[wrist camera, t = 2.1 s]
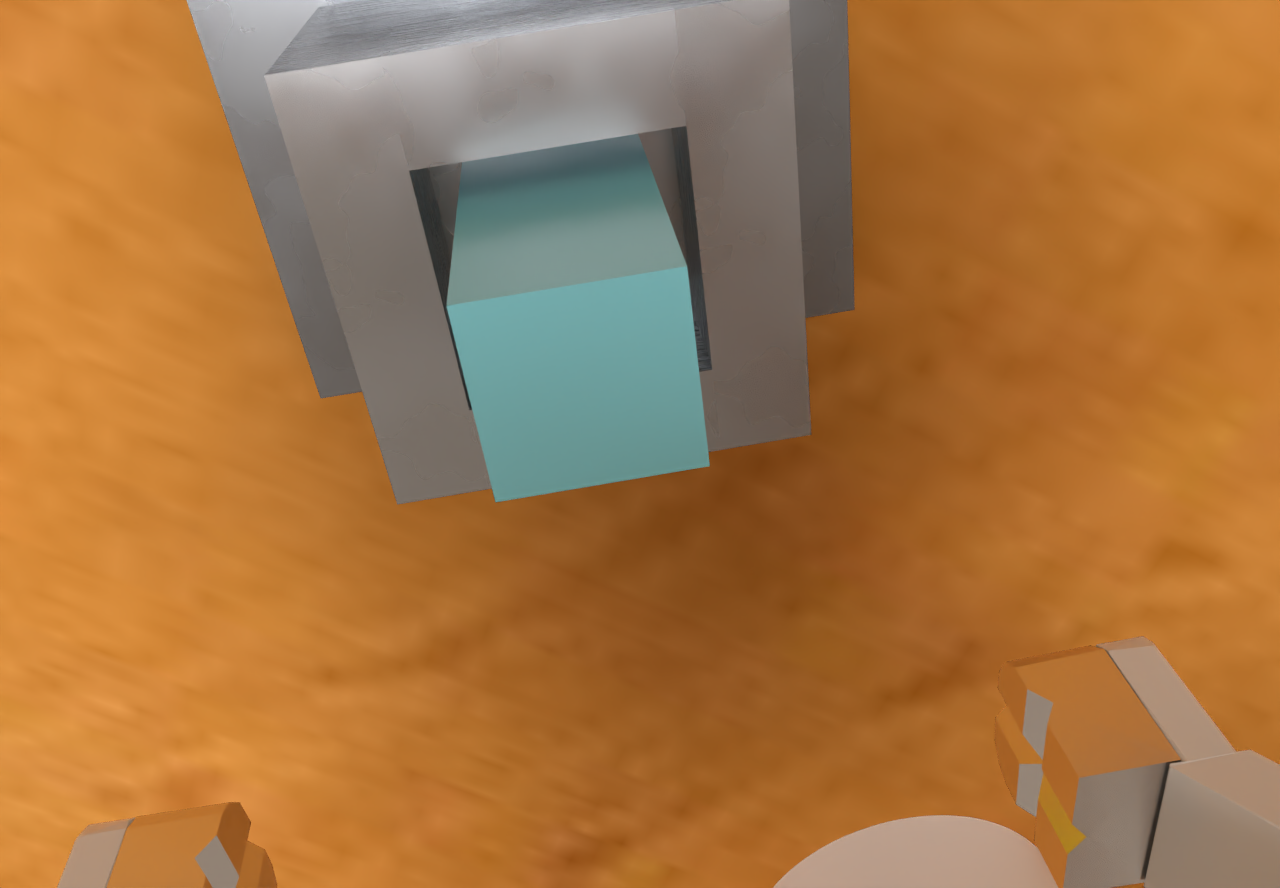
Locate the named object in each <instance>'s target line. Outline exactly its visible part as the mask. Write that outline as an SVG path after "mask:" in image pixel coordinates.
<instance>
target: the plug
mask: <svg viewBox="0 0 1280 888" xmlns="http://www.w3.org/2000/svg"><path fill="white" fill-rule="evenodd" d="M446 306H447V310H448V314H449V318H450V322H451V326H452V330H453V334H454V338H455V342H456V346H457V350H458V354H459V358H460V362H461V366H462V370H463V374H464V378H465V382H466V386H467V390H468V394H469V398H470V402H471V406H472V410H473V414H474V418H475V422H476V426H477V430H478V434H479V438H480V442H481V446H482V450H483V454H484V458H485V462H486V466H487V470H488V474H489V478H490V482H491V486H492V490H493V494H494V498H495V502H500V501H506V500H512V499H518V498H524V497H530V496H536V495H542V494H548V493H554V492H560V491H566V490H572V489H578V488H583V487H589V486H595V485H601V484H607V483H613V482H619V481H625V480H631V479H637V478H643V477H649V476H655V475H661V474H666V473H672V472H678V471H684V470H690V469H696V468H702V467H708V466H710V463H709V454H708V445H707V437H706V428H705V419H704V410H703V402H702V393H701V384H700V375H699V367H698V358H697V349H696V340H695V331H694V323H693V314H692V305H691V296H690V288H689V279H688V270H687V265H686V262H685V259H684V257H683V254H682V251H681V248H680V246H679V243H678V240H677V238H676V235H675V232H674V230H673V227H672V224H671V221H670V219H669V216H668V213H667V211H666V208H665V205H664V202H663V200H662V197H661V194H660V192H659V189H658V186H657V184H656V181H655V178H654V175H653V173H652V170H651V167H650V165H649V162H648V159H647V157H646V154H645V151H644V148H643V146H642V143H641V140H640V138H639V135H638V134H633V135H627V136H621V137H615V138H608V139H602V140H596V141H590V142H584V143H577V144H571V145H565V146H559V147H553V148H547V149H540V150H534V151H528V152H522V153H516V154H510V155H503V156H497V157H491V158H485V159H479V160H473V161H466V162H462V167H461V176H460V186H459V195H458V204H457V213H456V222H455V231H454V241H453V250H452V259H451V268H450V277H449V287H448V296H447V305H446Z"/></svg>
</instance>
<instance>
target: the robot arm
mask: <svg viewBox="0 0 1280 888" xmlns="http://www.w3.org/2000/svg"><path fill="white" fill-rule="evenodd" d="M998 690H999V691H1000V693H1001V695H1002V697H1003V699H1004V701H1005V703H1006V706H1005V707H1004V708H1003V709H1002V710H1001V711H1000V713H999V714H998V715H997V716H996V717H995V744H996V750H997V755H998V761H999V765H1000V768H1001V771H1002V774H1003V777H1004V779H1005V782H1006V785H1007V787H1008V789H1009V791H1010V793H1011V795H1012V797H1013V799H1014V801H1015V803H1016V805H1018V806H1019V807H1021V808H1023V809H1024V810H1026V811H1027V812H1029V813H1030V814H1032V815H1033V816H1035V817H1036V824H1035V834H1034V841H1035V843H1036V845H1037V847H1038V848H1037V847H1036V846H1035V845H1034V844H1032V843H1031V842H1030V841H1029V840H1027V839H1026V838H1025V837H1023V836H1021V835H1020V834H1018V833H1016V832H1015V831H1013V830H1011V829H1009V828H1006V827H1004V826H1001V825H999V824H996V823H993V822H989V821H986V820H982V819H977V818H971V817H964V816H950V815H934V816H920V817H912V818H905V819H899V820H894V821H889V822H885V823H881V824H878V825H874V826H871V827H868V828H865V829H862V830H859V831H856V832H854V833H851V834H849V835H846V836H844V837H842V838H840V839H838V840H836V841H833V842H832V843H830V844H828V845H826V846H824V847H822V848H821V849H819V850H817V851H816V852H814V853H813V854H811V855H810V856H808V857H807V858H805V859H804V860H802V861H801V862H800V863H798V864H797V865H796V866H795V867H793V868H792V869H791V870H790V871H789V872H788V873H786V874H785V875H784V876H783V877H782V878H781V879H780V880H779V881H778V882H777V883H776V884H775V886H774V887H773V888H1111V887H1118V886H1124V885H1130V884H1137V883H1143V882H1145V883H1144V887H1145V888H1280V765H1279V764H1277V763H1275V762H1274V761H1272V760H1270V759H1268V758H1266V757H1264V756H1262V755H1260V754H1258V753H1256V752H1254V751H1252V750H1245V751H1238V752H1236V750H1235V749H1234V748H1233V746H1232V745H1231V744H1230V743H1229V741H1228V740H1227V739H1226V737H1225V736H1224V735H1223V733H1222V732H1221V731H1220V729H1219V728H1218V727H1217V726H1216V724H1215V723H1214V722H1213V720H1212V719H1211V718H1210V716H1209V715H1208V714H1207V712H1206V711H1205V710H1204V709H1203V707H1202V706H1201V705H1200V703H1199V702H1198V701H1197V699H1196V698H1195V697H1194V695H1193V694H1192V693H1191V692H1190V690H1189V689H1188V688H1187V686H1186V685H1185V684H1184V682H1183V681H1182V680H1181V678H1180V677H1179V676H1178V674H1177V673H1176V672H1175V671H1174V669H1173V668H1172V667H1171V665H1170V664H1169V663H1168V661H1167V660H1166V659H1165V657H1164V656H1163V655H1162V654H1161V652H1160V651H1159V650H1158V648H1157V647H1156V646H1155V644H1154V643H1153V642H1152V641H1150V640H1148V639H1147V638H1145V637H1143V636H1141V637H1136V638H1130V639H1125V640H1120V641H1114V642H1109V643H1103V644H1098V645H1096V646H1091V645H1090V646H1085V647H1079V648H1074V649H1069V650H1064V651H1059V652H1053V653H1048V654H1043V655H1038V656H1032V657H1027V658H1022V659H1017V660H1012V661H1006V662H1004V663H1003V665H1002V667H1001V669H1000V670H999V679H998ZM250 825H251V821H250V820H249V818H248V816H247V814H246V813H245V811H244V809H243V807H242V806H241V804H240V802H228V803H222V804H215V805H209V806H202V807H196V808H189V809H183V810H176V811H170V812H163V813H157V814H150V815H144V816H137V817H134V818H128V819H122V820H116V821H109V822H103V823H97V824H91V825H88V826H87V827H86V828H85V829H84V831H83V832H82V833H81V834H80V835H79V836H78V837H77V839H76V840H75V843H74V845H73V848H72V850H71V853H70V856H69V858H68V861H67V863H66V866H65V868H64V871H63V873H62V876H61V879H60V881H59V884H58V886H57V888H277V882H276V878H275V874H274V870H273V866H272V863H271V861H270V859H269V857H268V855H267V853H266V851H265V849H263V848H261V847H259V846H257V845H255V844H253V843H251V842H249V841H247V839H248V835H249V830H250Z"/></svg>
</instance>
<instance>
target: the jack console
mask: <svg viewBox="0 0 1280 888" xmlns="http://www.w3.org/2000/svg"><path fill="white" fill-rule="evenodd" d="M187 3H188V6H189V9H190V12H191V15H192V18H193V21H194V24H195V27H196V30H197V33H198V36H199V39H200V42H201V45H202V48H203V50H204V53H205V56H206V59H207V62H208V65H209V68H210V71H211V74H212V77H213V80H214V83H215V86H216V89H217V92H218V95H219V98H220V101H221V104H222V107H223V110H224V113H225V116H226V119H227V122H228V125H229V128H230V131H231V134H232V137H233V140H234V142H235V145H236V148H237V151H238V154H239V157H240V160H241V163H242V166H243V169H244V172H245V175H246V178H247V181H248V184H249V187H250V190H251V193H252V196H253V199H254V202H255V205H256V208H257V211H258V214H259V217H260V220H261V223H262V226H263V229H264V232H265V234H266V237H267V240H268V243H269V246H270V249H271V252H272V255H273V258H274V261H275V264H276V267H277V270H278V273H279V276H280V279H281V282H282V285H283V288H284V291H285V294H286V297H287V300H288V303H289V306H290V309H291V312H292V315H293V318H294V321H295V324H296V326H297V329H298V332H299V335H300V338H301V341H302V344H303V347H304V350H305V353H306V356H307V359H308V362H309V365H310V368H311V371H312V374H313V377H314V380H315V383H316V386H317V389H318V392H319V395H320V398H326V397H332V396H338V395H344V394H350V393H356V392H363V395H364V398H365V402H366V405H367V408H368V411H369V415H370V418H371V421H372V424H373V427H374V431H375V434H376V437H377V440H378V443H379V447H380V450H381V453H382V456H383V460H384V463H385V466H386V469H387V472H388V476H389V479H390V482H391V485H392V488H393V492H394V495H395V498H396V501H397V504H403V503H409V502H415V501H421V500H426V499H432V498H438V497H444V496H450V495H456V494H462V493H468V492H474V491H480V490H486V489H492V486H491V482H490V478H489V474H488V470H487V466H486V462H485V458H484V454H483V450H482V446H481V442H480V438H479V434H478V430H477V426H476V422H475V418H474V414H473V410H472V406H471V402H470V398H469V394H468V390H467V386H466V382H465V378H464V374H463V370H462V366H461V362H460V358H459V354H458V350H457V346H456V342H455V338H454V334H453V330H452V326H451V322H450V318H449V314H448V310H447V306H446V305H447V296H448V287H449V277H450V268H451V259H452V250H453V241H454V231H455V222H456V213H457V204H458V195H459V186H460V176H461V167H462V162H466V161H473V160H479V159H485V158H491V157H497V156H503V155H510V154H516V153H522V152H528V151H534V150H540V149H547V148H553V147H559V146H565V145H571V144H577V143H584V142H590V141H596V140H602V139H608V138H615V137H621V136H627V135H633V134H638V135H639V138H640V140H641V143H642V146H643V148H644V151H645V154H646V157H647V159H648V162H649V165H650V167H651V170H652V173H653V175H654V178H655V181H656V184H657V186H658V189H659V192H660V194H661V197H662V200H663V202H664V205H665V208H666V211H667V213H668V216H669V219H670V221H671V224H672V227H673V230H674V232H675V235H676V238H677V240H678V243H679V246H680V248H681V251H682V254H683V257H684V259H685V262H686V265H687V270H688V279H689V288H690V296H691V305H692V314H693V323H694V331H695V340H696V349H697V358H698V367H699V375H700V384H701V393H702V402H703V410H704V419H705V428H706V437H707V445H708V452H711V451H717V450H723V449H729V448H735V447H741V446H747V445H753V444H759V443H765V442H771V441H777V440H783V439H789V438H795V437H800V436H806V435H811V418H810V399H809V379H808V360H807V340H806V321H805V318H808V317H814V316H820V315H826V314H832V313H838V312H844V311H850V310H854V268H853V226H852V184H851V142H850V100H849V58H848V16H847V0H187Z"/></svg>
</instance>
